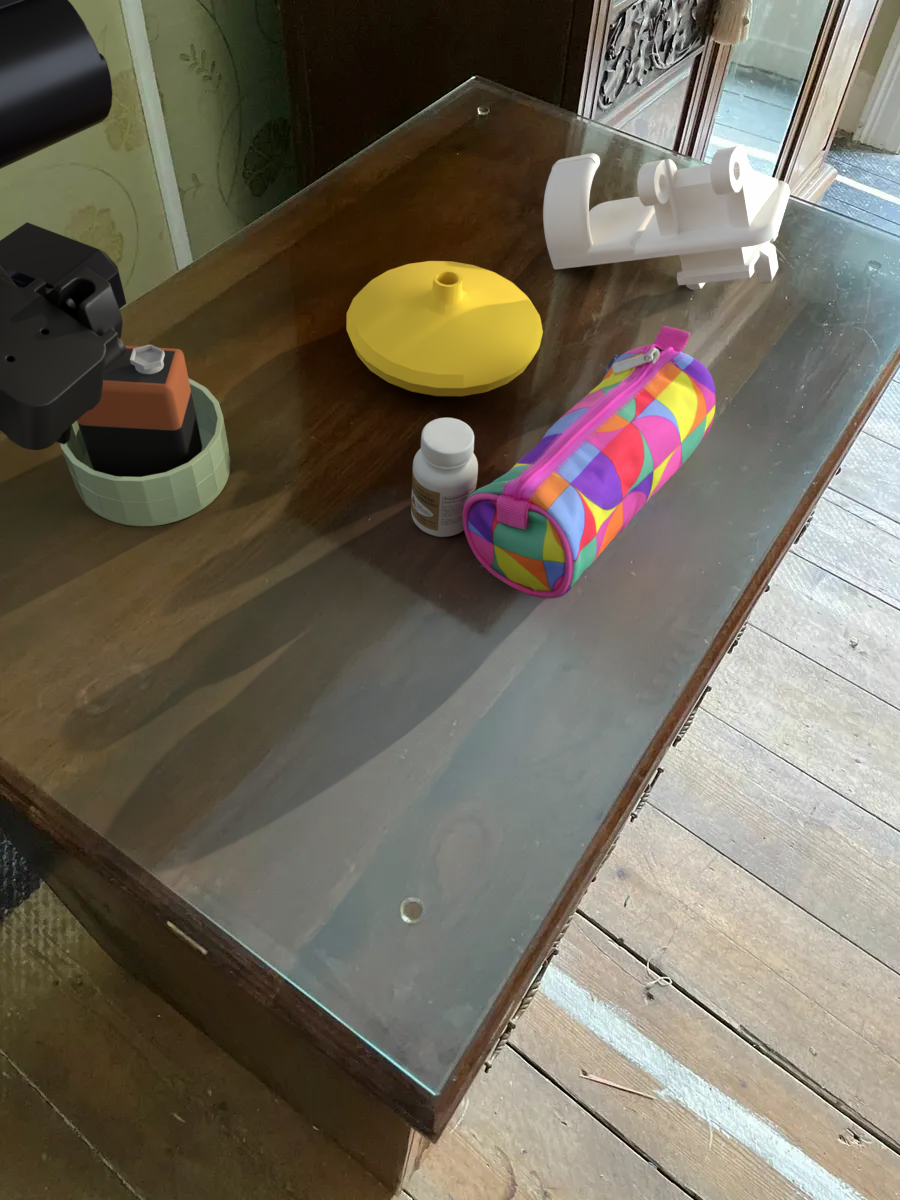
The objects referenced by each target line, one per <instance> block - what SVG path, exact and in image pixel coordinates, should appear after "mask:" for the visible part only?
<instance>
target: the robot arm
mask: <svg viewBox="0 0 900 1200" xmlns="http://www.w3.org/2000/svg"><path fill="white" fill-rule="evenodd" d="M112 104H113V85H112V77H111V72H110V69H109V65H108V62H107V59H106V58H105V56H104V55H103V54H102V53H101V52H99V50H98V46H97V44H96V43H95V40H94V38H93V35H92V34H91V32H90V31H89V29H88V27H87V24H86V23H85V21H84V20H83V19H82V17H81V15H80V14H79V13H78V11H77V9H76V8H75V6H74V5H73V4H72V3H71V1H70V0H0V170H1V169H4V168H6V167H8V166H10V165H12V164H15V163H17V162H19V161H21V160H23V159H26V158H27V157H29V156H32V155H35V154H36V153H38V152H40V151H42V150H44V149H45V150H46V149H47V148H50V147H51V146H54V145H55V144H58V143H60V142H62V141H64V140H66V139H68V138H71V137H72V136H75V135H77V134H80V133H82V132H84V131H85V130H89V129H91V128H92V127H95V126H96V125H99V124H101V123H103V122H104V121H105V120H106V119H107V118H108V117H109V116H110V115H109V114H110V112H111V109H112V106H113V105H112ZM126 304H127V300H126V295H125V292H124V287H123V283H122V280H121V276H120V271H119V267H118V264H117V263H115V261H114V260H113V259H111V257H110V256H109V255H108V254H107V253H106V251H103V250H102V249H99V248H97V247H94V246H92V245H90V244H86V243H85V242H81V241H78V240H76V239H73V238H70V237H68V236H66V235H63V234H60V233H57V232H54V231H51V230H49V229H46V228H43V227H41V226H38V225H36V224H33V223H30V222H28V221H27V222H25V223H24V224H22V225H21V226H19V227H18V228H17V229H15V230H13V231H12V232H10V233H9V234H7V235H6V236H5V237H3V238H2V239H0V432H1V433H3V434H4V435H5V436H6V437H7V438H8V439H9V440H10V441H11V442H12V443H14V444H16V445H17V446H19V447H20V448H23V449H26V450H31V451H39V450H40V451H41V450H45V449H48V448H50V447H51V446H53V445H54V444H55V443H58V444H60V443H61V444H66V443H67V442H68V441H69V440H70V434H71V425H72V424H73V423H75V422H76V421H77V420H78V419H79V418H80V417H81V416H82V415H83V414H85V413H86V412H87V411H88V410H92V409H93V408H94V407H95V406H96V405H97V404H98V403H99V402H100V400H101V397H102V387H103V378H104V371H105V370H107V369H108V368H109V367H110V366H111V365H112V364H113V363H115V362H116V361H117V360H118V359H119V358H120V357H121V356H122V355H124V354H125V353H126V347H125V346H126V345H125V343H124V341H122V339H121V338H122V331H123V324H124V323H123V316H122V313H121V310H120V309H122V308H123V307H124V306H125V305H126Z"/></svg>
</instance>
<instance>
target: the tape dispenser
mask: <svg viewBox="0 0 900 1200" xmlns="http://www.w3.org/2000/svg"><path fill="white" fill-rule="evenodd" d="M600 164H601V158H600V156H599V155H598V154H597V153H594V152H590V153H586V154H581V155H575V156H571V157H565V158H560V159H558V160H557V161H556V162H554V163H553V165H552V167H551V170H550V173H549V176H548V179H547V182H546V186H545V190H544V197H543V207H542V216H543V217H542V221H543V233H544V238H545V244H546V248H547V252H548V255H549V260H550V262H551V265H552V268H553V270H563V269H564V270H565V269H570V268H571V269H572V268H581V267H588V266H589V267H590V266H597V265H607V264H614V263H615V264H616V263H623V262H629V261H631V262H632V261H639V260H647V259H656V258H665V257H671V256H673V257H674V256H678V257H679V262H680V268H679V270H678V271H677V272H676V282H677V286H686V288H688V289H689V290H691V291H695V290H702V289H703V288H704V286H705V284H707V283H717V282H727V281H737V280H746V279H747V280H748V279H751V278H752V276H753V275H754V273H755V272H756V274H757V275H756V276H757V281H758V283H759V284H768V283H771V282H772V281H773V279H774V278H775V276H776V274H777V272H778V270H779V261H778V256H777V248H776V245H774V244H773V242H775V241H776V240H777V238H778V236H779V231H780V228H781V225H782V222H783V220H784V219H783V218H784V215H785V212H786V209H787V205H788V202H789V198H790V195H791V190H790V189H791V188H790V185H789V184H788V183H787V182H786V181H783V180H778V178H776V177H773V176H770V175H767V174H765V173H762V172H761V171H757V170H755V169H753V167H752V166H751V164H750V161H749V158H748V154H747V151H746V149H745V148H744V147H743V146H742V145H737V146H731V147H726V148H720V149H716V152H715V153H714V155H713V156H712V158H711V163H708V164H702V165H697V166H691V167H685V168H680V169H678V167H677V165H676V163H675V162H674V160H672V159H671V158H665V159H659V160H655V161H650V162H646V163H644V164H643V165H642V166H641V167H640V169H639V171H638V174H637V180H636V189H637V195H638V196H633V197H627V198H621V199H613V200H609V201H604V202H601V203H598V204H597V205H595V206H593V207H592V208H591V209H590V196H591V189H592V184H593V181H594V177H595V175H596V173H597V170H598V168H599V167H600ZM755 269H756V271H755Z"/></svg>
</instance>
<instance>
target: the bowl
mask: <svg viewBox="0 0 900 1200" xmlns="http://www.w3.org/2000/svg"><path fill="white" fill-rule="evenodd" d="M189 383H190V388H191V393H192V398H193V403H194V408H195V413H196V418H197V423H198V428H199V433H200V437H201V442H202V451H201V452H200V453H199V454H198V455H197V456H195V457H194V458H193V459H192V460H190V461H189V462H188V463H185V464H183V465H181V466H179V467H176V468H174V469H172V470H170V471H167V472H164V473H159V474H154V475H149V476H144V477H122V476H113V475H109V474H106V473H102V472H98V471H95V470H93V467H92V464H91V461H90V458H89V455H88V452H87V449H86V446H85V443H84V440H83V437H82V434H81V431H80V428H79V425H78V422H77V421H76V422H75V423H73V424H72V425H71V434H70V440H69V441H68V442H67V443H66V444H61V443H59V444H60V448H61V451H62V455H63V457H64V460H65V463H66V465H67V468H68V471H69V473H70V476H71V479H72V482H73V484H74V487H75V490H76V491H77V493H78V494H79V496H80V499H81V500H82V501H83V503H84V504H85V505H86V506H87V507H88V508H89V510H90V511H92V512H94V513H95V514H96V515H98V516H100V517H102V518H104V519H106V520H108V521H110V522H113V523H115V524H116V523H117V524H121V525H125V526H133V527H156V526H163V525H169V524H171V523H176V522H179V521H181V520H184V519H187V518H189V517H192V516H193V515H195V514H197V513H199V512H201V511H202V510H204V509H205V508H206V507H208V506H209V505H211V504H212V503H213V502H214V501H215V500H216V499H217V498H218V496H219V495H220V494H221V493H222V492H223V490H224V488H225V487H226V485H227V482H228V479H229V477H230V472H231V454H230V448H229V442H228V437H227V431H226V424H225V421H224V420H225V419H224V415H223V411H222V409H221V406H220V402H219V400H218V399H217V398H216V397H215V396H214V395H213V394H212V392H211V391H210V390H209V389H208V388H207V387H206V386H204V385H202V384H200V383H198V382H197V381H195V380H193V379H191V378H189Z"/></svg>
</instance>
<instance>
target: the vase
mask: <svg viewBox="0 0 900 1200" xmlns="http://www.w3.org/2000/svg"><path fill="white" fill-rule="evenodd" d="M346 332H347V334H348V337H349V339H350V342H351V343H352V346H353V349H354V351H355V354H356V356H357V357H358V359H360V361H361V362H362V363H363V364H364V365H365V366H366V368H367V369H368V370H369V371H370V372H372V373H373V374H375V375H376V376H378V377H379V378H380V379H382V380H384V381H385V382H387V383H389V384H391V385H394V386H395V387H399V388H402V389H404V390H406V391H409V392H413V393H417V394H423V395H428V396H433V397H466V396H471V395H478V394H483V393H487V392H491V391H492V390H495V389H497V388H498V389H499V388H500V387H502V386H505V385H507V384H509V383H510V382H512V381H513V380H514V379H516V378H517V377H518V376H520V375H521V374H522V373H524V371H525V370H526V369H527V367H528V366H529V365H530V363H531V362H532V360H533V359H534V357H535V355H537V352H538V351H539V349H540V346H541V343H542V339H543V333H544V330H543V324H542V319H541V315H540V313H539V312H538V310H537V308H536V307H535V305H534V304H533V302H532V301H531V299H530V298H529V296H528V295H527V294H526V293H525V292H523V291H522V290H521V289H520V288H519V287H518V286H517V285H516V284H515V283H514V282H512V281H511V280H509V279H507V278H506V277H503V276H502V275H500V274H498V273H497V272H494V271H492V270H489V269H486V268H483V267H480V266H478V265H475V264H470V263H465V262H464V263H463V262H458V261H453V260H452V261H451V260H450V261H447V260H427V261H421V262H414V263H413V262H412V263H407V264H403V265H401V266H398V267H395V268H391V269H388V270H385V272H383V273H382V274H380V275H377V276H376V277H374V278H372V279H371V280H370V281H369V282H368V283H367V284H366V285H365V286H363V288H362V289H361V290H360V291H359V292H358V293H357V294H355V296H354V297H353V298H352V300H351V303H350V305H349V308H348V310H347V312H346Z"/></svg>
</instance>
